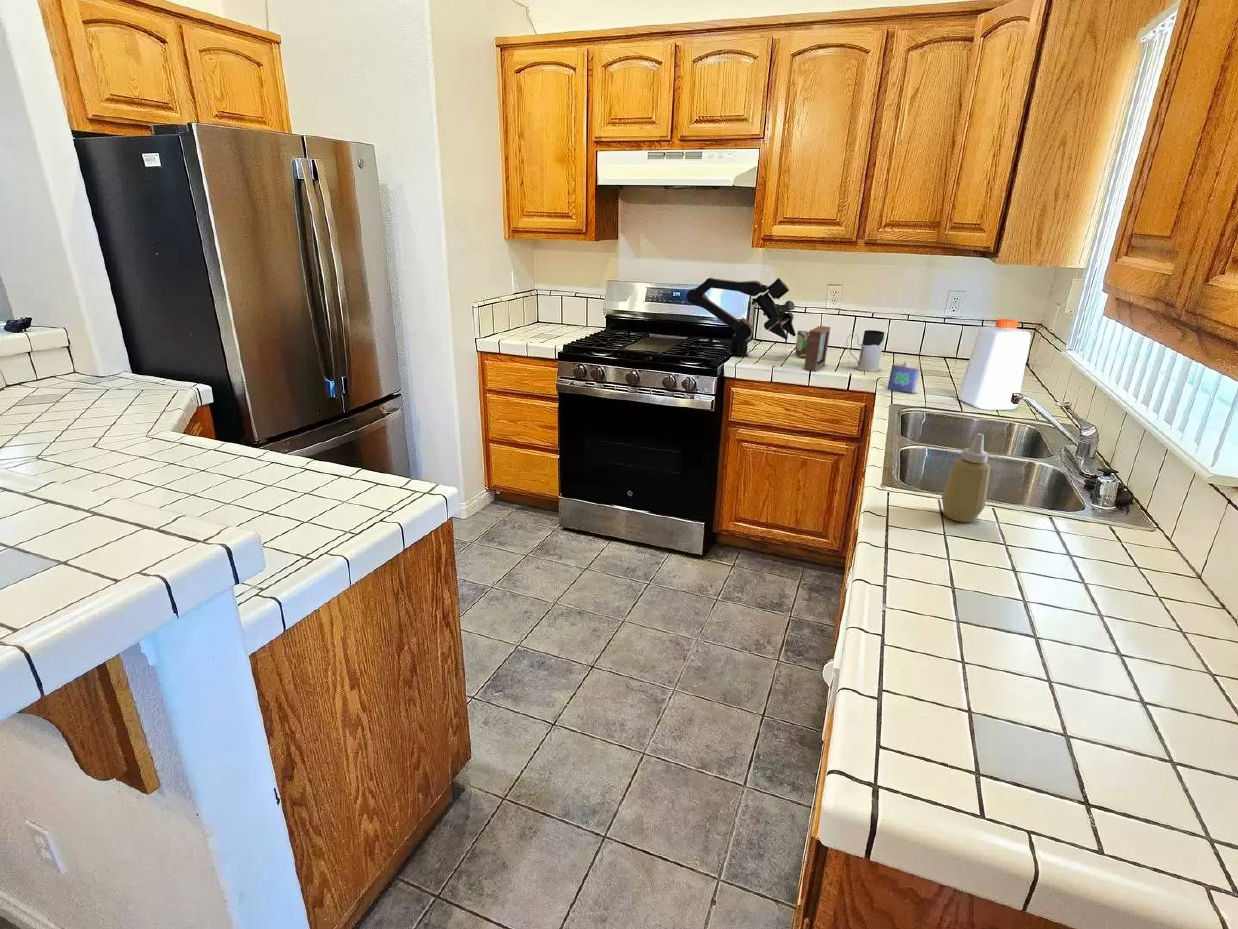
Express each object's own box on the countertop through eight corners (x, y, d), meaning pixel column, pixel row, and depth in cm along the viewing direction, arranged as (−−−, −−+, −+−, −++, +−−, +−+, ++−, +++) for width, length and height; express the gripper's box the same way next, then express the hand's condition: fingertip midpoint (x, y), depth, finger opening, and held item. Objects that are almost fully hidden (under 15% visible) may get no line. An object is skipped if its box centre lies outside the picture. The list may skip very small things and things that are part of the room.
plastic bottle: (991, 398, 226) (1012, 316, 216) (1022, 410, 212) (1046, 324, 202) (951, 398, 223) (971, 316, 213) (980, 411, 210) (1003, 323, 199)
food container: (815, 359, 276) (819, 335, 272) (801, 358, 276) (804, 335, 272) (808, 353, 287) (811, 330, 284) (794, 352, 287) (797, 330, 284)
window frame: (815, 371, 254) (821, 331, 249) (803, 369, 256) (809, 330, 251) (824, 364, 267) (830, 327, 261) (814, 363, 269) (819, 325, 263)
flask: (915, 392, 229) (921, 362, 225) (912, 394, 227) (919, 363, 223) (888, 387, 234) (894, 358, 230) (886, 389, 232) (891, 359, 228)
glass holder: (880, 372, 257) (887, 334, 251) (843, 369, 260) (849, 331, 254) (877, 367, 265) (884, 330, 259) (841, 364, 268) (847, 328, 262)
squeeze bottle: (933, 517, 133) (953, 434, 126) (942, 505, 139) (962, 425, 132) (976, 529, 128) (999, 444, 122) (984, 516, 134) (1006, 434, 128)
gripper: (774, 295, 254) (798, 327, 253) (792, 292, 269) (814, 322, 267) (754, 314, 261) (776, 345, 259) (771, 309, 276) (793, 338, 274)
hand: (790, 337), depth 265 cm, fingers open, 9 cm apart
